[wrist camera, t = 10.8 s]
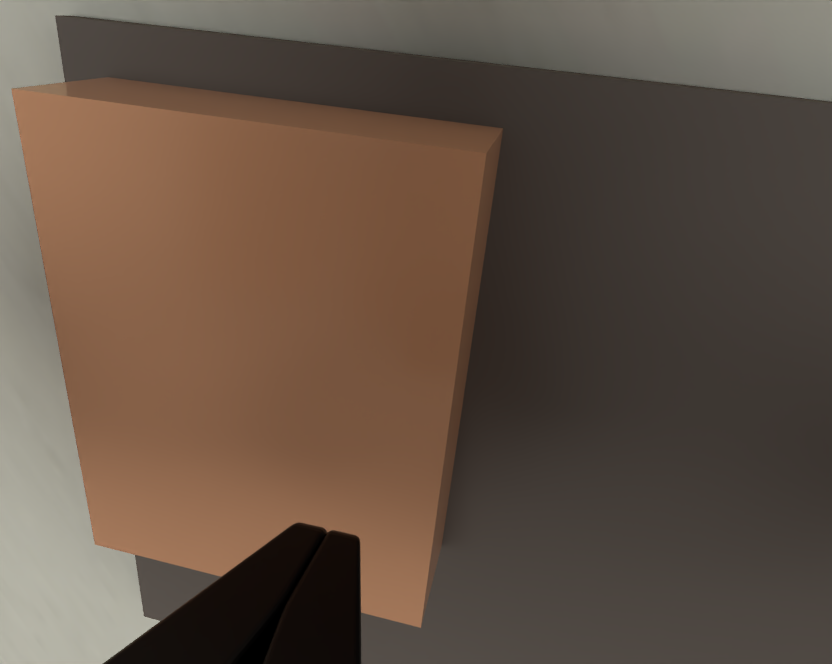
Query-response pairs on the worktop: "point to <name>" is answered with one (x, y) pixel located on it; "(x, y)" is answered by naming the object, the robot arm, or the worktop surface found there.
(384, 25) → the worktop surface
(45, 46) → the worktop surface
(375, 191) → the terracotta brick
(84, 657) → the worktop surface
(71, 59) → the rubber mat
